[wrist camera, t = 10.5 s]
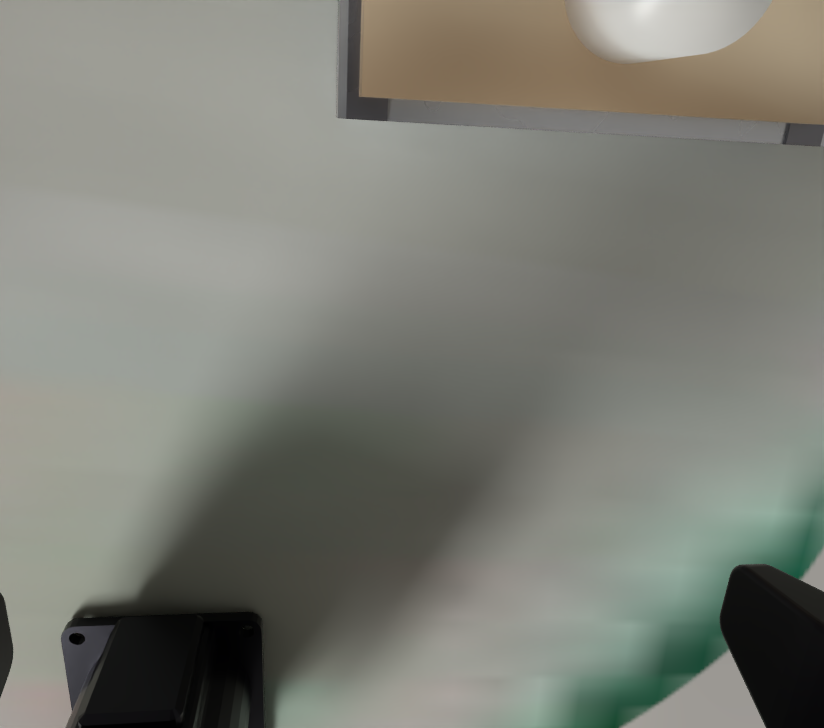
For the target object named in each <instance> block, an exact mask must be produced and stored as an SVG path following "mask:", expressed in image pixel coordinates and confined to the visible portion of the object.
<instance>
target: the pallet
mask: <svg viewBox="0 0 824 728" xmlns="http://www.w3.org/2000/svg"><path fill="white" fill-rule="evenodd" d="M359 97H373V98H390V99H406V100H423V101H439V102H456V103H472V104H488V105H505V106H521V107H538V108H554V109H570V110H587V111H603V112H620V113H636V114H652V115H669V116H685V117H702V118H718V119H734V120H751V121H767V122H784V123H800V124H817V125H824V0H772V2H771V4H770V6H769V7H768V9H767V10H766V12H765V13H764V14H763V16H762V17H761V18H760V19H759V21H758V22H757V23H756V24H755V25H754V26H753V27H752V28H751V29H750V30H749V31H748V32H747V33H746V34H745V35H743V36H742V37H741V38H739V39H738V40H737V41H735V42H734V43H732V44H730V45H728V46H727V47H724V48H722V49H720V50H717V51H714V52H710V53H707V54H700V55H693V56H686V57H678V58H671V59H663V60H656V61H648V62H641V63H633V64H619V63H613V62H610V61H607V60H604V59H602V58H600V57H598V56H596V55H595V54H593V53H592V52H591V51H589V50H588V49H587V48H586V47H585V46H584V45H583V44H582V43H581V41H580V40H579V39H578V37H577V36H576V34H575V32H574V31H573V29H572V27H571V24H570V22H569V19H568V16H567V12H566V8H565V1H564V0H362V3H361V41H360V79H359Z"/></svg>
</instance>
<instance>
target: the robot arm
mask: <svg viewBox="0 0 824 728" xmlns="http://www.w3.org/2000/svg"><path fill="white" fill-rule="evenodd" d="M243 626H251V627H252V629H244V628H243ZM720 627H721V631H722V634H723V637H724V639H725V641H726V643H727V645H728V648H729V650H730V652H731V654H732V656H733V658H734V660H735V662H736V665H737V667H738V669H739V671H740V673H741V675H742V677H743V680H744V682H745V684H746V686H747V688H748V690H749V692H750V695H751V697H752V699H753V701H754V703H755V705H756V707H757V709H758V712H759V714H760V716H761V718H762V720H763V722H764V724H765V726H766V728H824V592H823V591H821V590H819V589H817V588H815V587H813V586H811V585H809V584H807V583H805V582H803V581H801V580H799V579H797V578H795V577H793V576H791V575H789V574H787V573H784V572H782V571H780V570H778V569H776V568H774V567H772V566H770V565H766V564H746V565H738V566H736V567H735V568H734V569H733V570H732V572H731V574H730V578H729V582H728V586H727V589H726V593H725V597H724V601H723V605H722V609H721V613H720ZM74 633H81V634H82V635H84V636H78V635H76V634H74ZM61 642H62V649H63V655H64V662H65V668H66V675H67V681H68V688H69V694H70V701H71V707H72V713H71V716H70V718H69V721H68V723H67V725H66V728H265V700H264V658H263V622H262V619H261V618H260V616H259V615H257V614H255V613H253V612H231V613H204V614H177V615H151V616H124V617H97V618H78V619H73V620H71V621H70V622H68V624H67V625H66V627H65V629H64V631H63V633H62V635H61ZM12 659H13V643H12V638H11V632H10V627H9V621H8V616H7V610H6V605H5V600H4V597H3V596H2V594H1V593H0V697H1V694H2V691H3V689H4V686H5V683H6V680H7V677H8V674H9V672H10V668H11V664H12Z"/></svg>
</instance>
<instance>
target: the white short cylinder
mask: <svg viewBox="0 0 824 728" xmlns="http://www.w3.org/2000/svg"><path fill="white" fill-rule="evenodd" d="M564 1H565V8H566V12H567V16H568V19H569V22H570V24H571V27H572V29H573V31H574V32H575V34H576V36H577V37H578V39H579V40H580V41H581V43H582V44H583V45H584V46H585V47H586V48H587V49H588V50H589V51H591V52H592V53H593V54H595V55H596V56H598V57H600V58H602V59H604V60H607V61H610V62H613V63H619V64H633V63H641V62H648V61H656V60H663V59H671V58H678V57H686V56H693V55H700V54H707V53H710V52H714V51H717V50H720V49H722V48H724V47H727V46H728V45H730V44H732V43H734V42H735V41H737V40H738V39H739V38H741V37H742V36H743V35H745V34H746V33H747V32H748V31H749V30H750V29H751V28H752V27H753V26H754V25H755V24H756V23H757V22H758V21H759V19H760V18H761V17H762V16H763V14H764V13H765V12H766V10H767V9H768V7H769V6H770V4H771V2H772V0H564Z"/></svg>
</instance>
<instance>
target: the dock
mask: <svg viewBox="0 0 824 728" xmlns="http://www.w3.org/2000/svg"><path fill="white" fill-rule="evenodd" d="M361 3H362V0H338V44H337V101H336V117H337V118H345V119H361V120H378V121H396V122H413V123H430V124H447V125H464V126H481V127H498V128H515V129H533V130H550V131H567V132H584V133H601V134H618V135H635V136H652V137H669V138H686V139H703V140H720V141H737V142H754V143H772V144H787V145H805V146H823V147H824V125H817V124H800V123H784V122H767V121H751V120H734V119H718V118H702V117H685V116H669V115H652V114H636V113H620V112H603V111H587V110H570V109H554V108H538V107H521V106H505V105H488V104H472V103H456V102H439V101H423V100H406V99H390V98H373V97H359V79H360V41H361Z"/></svg>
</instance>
